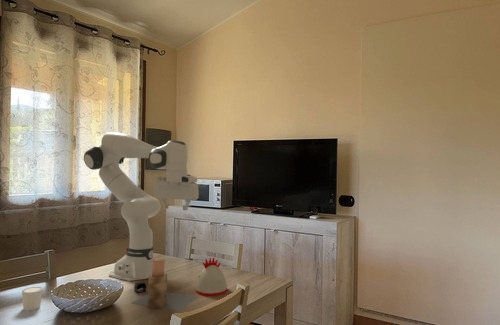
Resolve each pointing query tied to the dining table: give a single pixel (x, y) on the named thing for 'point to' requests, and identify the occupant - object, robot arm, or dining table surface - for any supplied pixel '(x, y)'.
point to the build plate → (139, 286)
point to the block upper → (157, 283)
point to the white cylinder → (32, 298)
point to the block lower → (157, 299)
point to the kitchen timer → (211, 280)
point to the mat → (170, 301)
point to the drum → (158, 267)
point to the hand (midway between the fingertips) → (175, 209)
